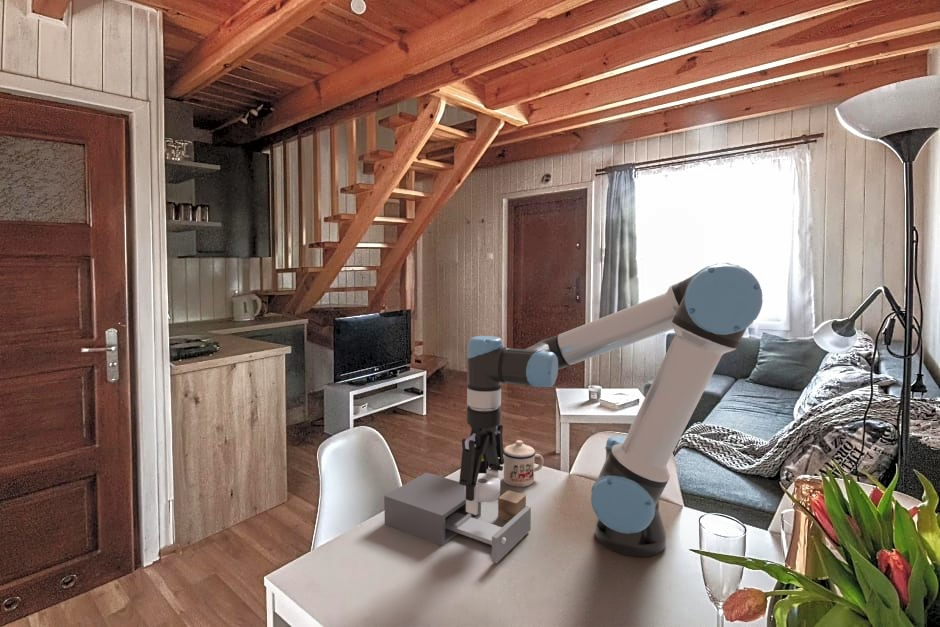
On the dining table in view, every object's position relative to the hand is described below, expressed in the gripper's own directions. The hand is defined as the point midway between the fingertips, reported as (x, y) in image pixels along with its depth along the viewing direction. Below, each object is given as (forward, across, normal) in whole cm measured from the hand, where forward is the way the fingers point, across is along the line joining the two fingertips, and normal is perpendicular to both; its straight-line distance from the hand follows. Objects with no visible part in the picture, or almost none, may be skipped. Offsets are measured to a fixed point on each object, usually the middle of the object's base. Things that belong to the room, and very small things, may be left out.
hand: (482, 504), depth 113 cm
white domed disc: (-3, 0, 0) cm, 3 cm away
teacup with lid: (+8, -32, -6) cm, 33 cm away
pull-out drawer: (+7, 0, 0) cm, 7 cm away
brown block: (+8, -12, +1) cm, 14 cm away
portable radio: (+8, -19, -13) cm, 24 cm away
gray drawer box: (+8, 0, -14) cm, 16 cm away
